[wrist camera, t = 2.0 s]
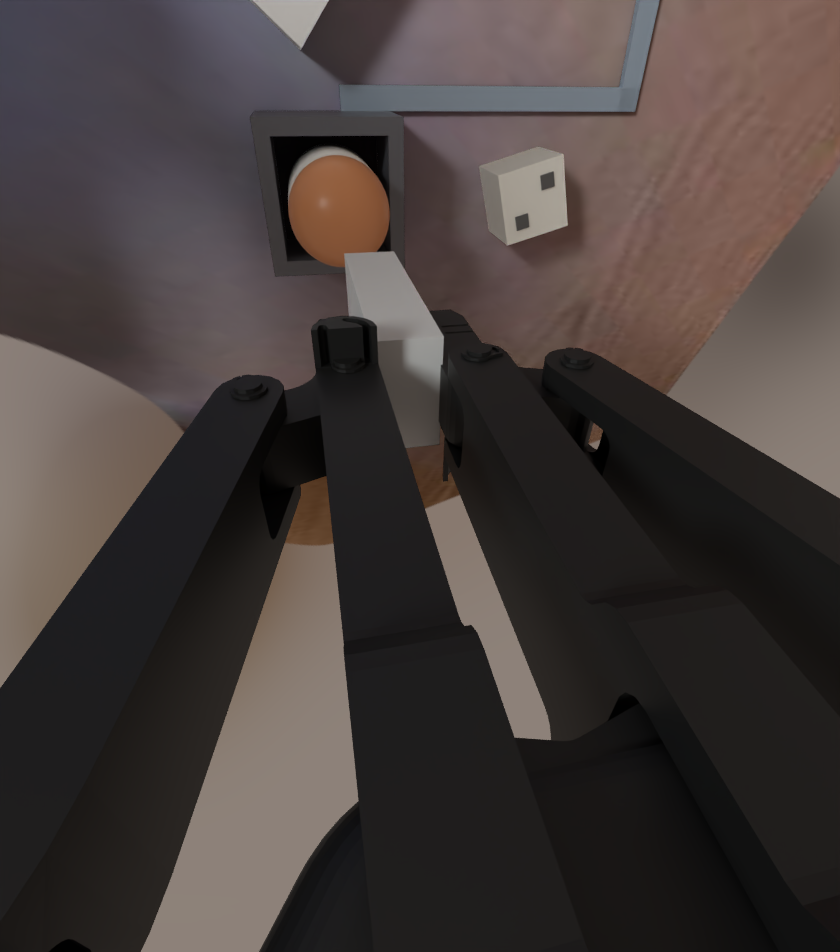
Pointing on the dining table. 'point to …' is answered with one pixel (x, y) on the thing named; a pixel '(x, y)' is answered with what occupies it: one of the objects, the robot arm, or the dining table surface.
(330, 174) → the orange and white capsule
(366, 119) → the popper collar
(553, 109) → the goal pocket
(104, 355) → the dining table surface
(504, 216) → the die
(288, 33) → the bracket
